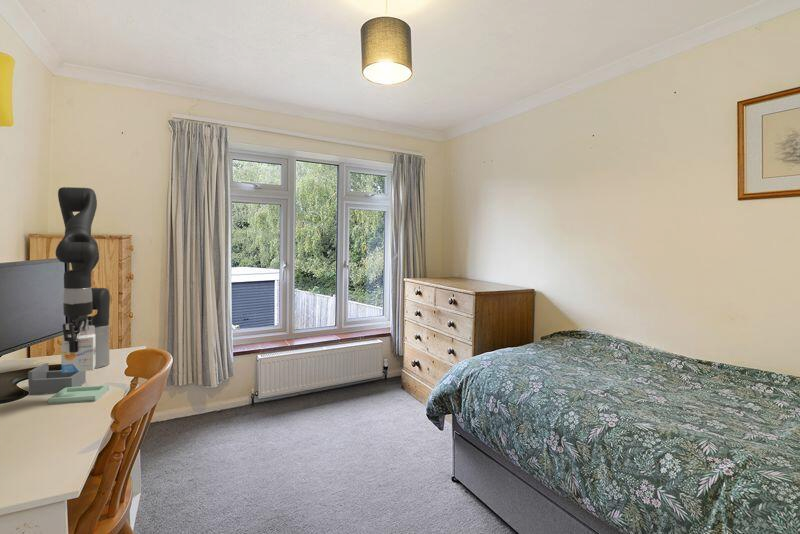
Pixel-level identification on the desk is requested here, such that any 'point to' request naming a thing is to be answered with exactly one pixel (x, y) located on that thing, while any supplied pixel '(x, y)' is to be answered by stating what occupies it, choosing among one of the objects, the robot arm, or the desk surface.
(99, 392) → the tray
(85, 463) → the desk surface
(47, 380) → the bay
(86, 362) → the ink box
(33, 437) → the desk surface
